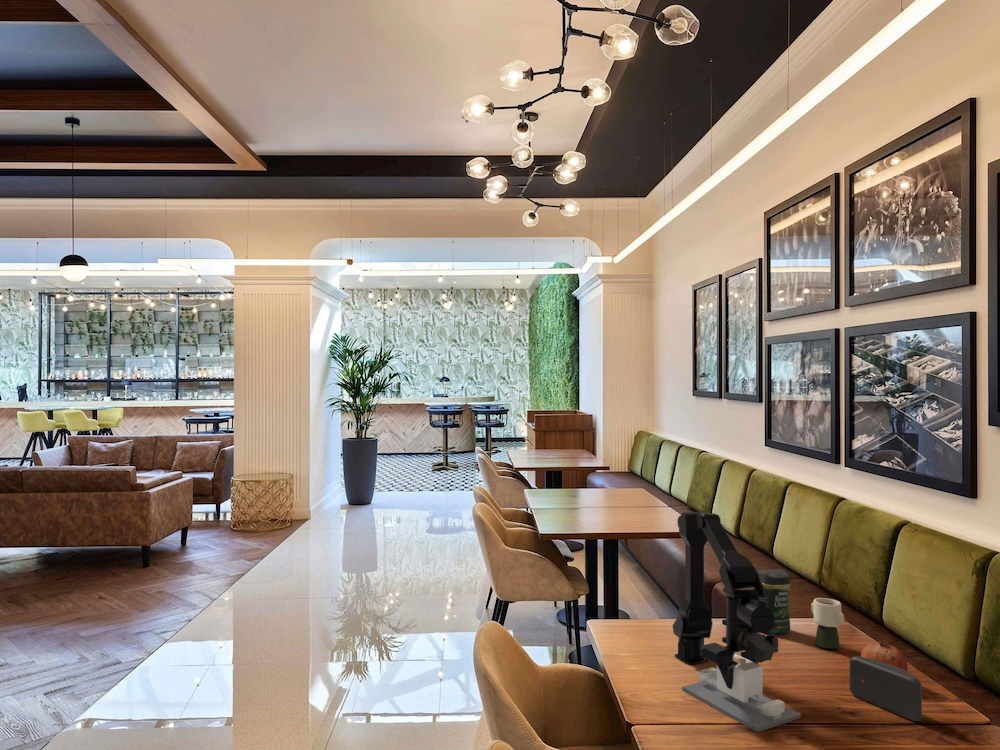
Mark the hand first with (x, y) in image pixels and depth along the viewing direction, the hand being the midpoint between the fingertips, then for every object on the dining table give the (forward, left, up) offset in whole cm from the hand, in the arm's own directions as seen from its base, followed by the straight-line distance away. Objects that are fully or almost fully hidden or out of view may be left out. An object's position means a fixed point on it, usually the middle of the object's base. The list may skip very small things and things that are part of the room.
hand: (738, 685), depth 149 cm
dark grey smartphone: (-28, +17, -4) cm, 33 cm away
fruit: (-43, +8, -4) cm, 44 cm away
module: (0, 0, -2) cm, 2 cm away
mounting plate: (0, 0, -4) cm, 4 cm away
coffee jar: (-48, -29, -4) cm, 56 cm away
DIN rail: (0, 0, -4) cm, 4 cm away
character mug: (-51, -13, -4) cm, 53 cm away
